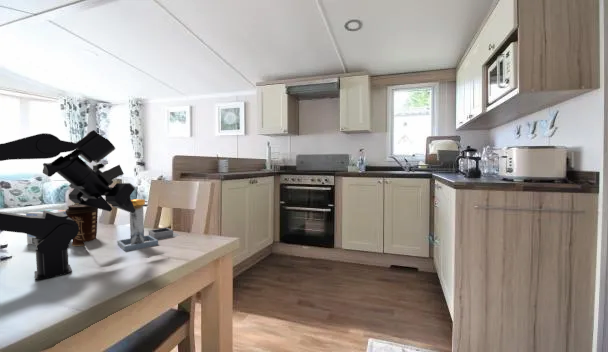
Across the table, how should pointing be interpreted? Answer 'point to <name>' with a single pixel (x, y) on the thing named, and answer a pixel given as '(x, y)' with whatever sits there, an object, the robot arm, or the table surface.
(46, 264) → the robot arm
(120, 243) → the tray
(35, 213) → the light bulb box
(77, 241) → the coffee cup
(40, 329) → the table surface
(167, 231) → the square socket base
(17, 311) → the table surface
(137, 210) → the stop pin
